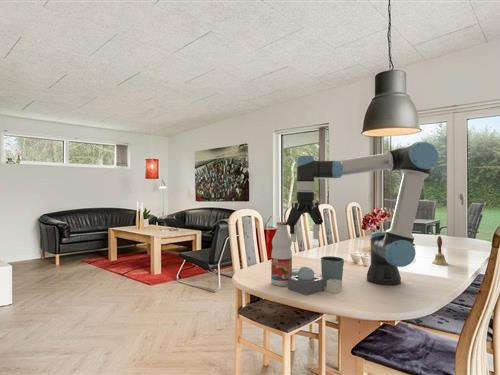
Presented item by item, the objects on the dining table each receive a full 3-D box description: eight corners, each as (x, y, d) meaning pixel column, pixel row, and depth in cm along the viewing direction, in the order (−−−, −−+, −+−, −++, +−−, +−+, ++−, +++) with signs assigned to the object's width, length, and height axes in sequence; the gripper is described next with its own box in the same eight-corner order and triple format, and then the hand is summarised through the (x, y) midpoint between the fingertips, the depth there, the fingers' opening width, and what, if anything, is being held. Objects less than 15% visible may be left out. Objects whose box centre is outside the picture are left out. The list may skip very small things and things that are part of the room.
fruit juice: (296, 283, 158) (296, 222, 158) (282, 287, 151) (282, 223, 151) (280, 279, 165) (281, 221, 165) (266, 283, 158) (267, 222, 158)
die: (340, 290, 147) (340, 280, 147) (336, 293, 144) (336, 282, 144) (331, 288, 150) (331, 278, 150) (326, 291, 146) (326, 280, 146)
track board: (332, 280, 164) (332, 277, 164) (314, 284, 156) (314, 282, 156) (296, 270, 184) (296, 267, 184) (277, 273, 176) (277, 271, 176)
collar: (324, 290, 148) (324, 278, 148) (306, 295, 141) (306, 283, 141) (305, 284, 156) (305, 273, 156) (287, 288, 150) (287, 277, 150)
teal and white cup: (320, 281, 162) (320, 255, 162) (342, 282, 160) (342, 256, 160) (321, 287, 152) (321, 260, 152) (345, 288, 150) (345, 261, 150)
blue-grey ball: (317, 283, 148) (317, 266, 148) (306, 285, 144) (306, 268, 144) (305, 279, 154) (305, 263, 154) (294, 282, 149) (294, 265, 149)
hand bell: (432, 264, 198) (432, 236, 198) (431, 261, 206) (431, 235, 206) (449, 265, 195) (449, 237, 195) (446, 263, 203) (447, 235, 203)
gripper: (318, 191, 160) (318, 237, 160) (278, 191, 146) (277, 241, 146) (331, 191, 154) (330, 239, 154) (290, 191, 140) (289, 244, 140)
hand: (305, 240), depth 150 cm, fingers open, 13 cm apart
